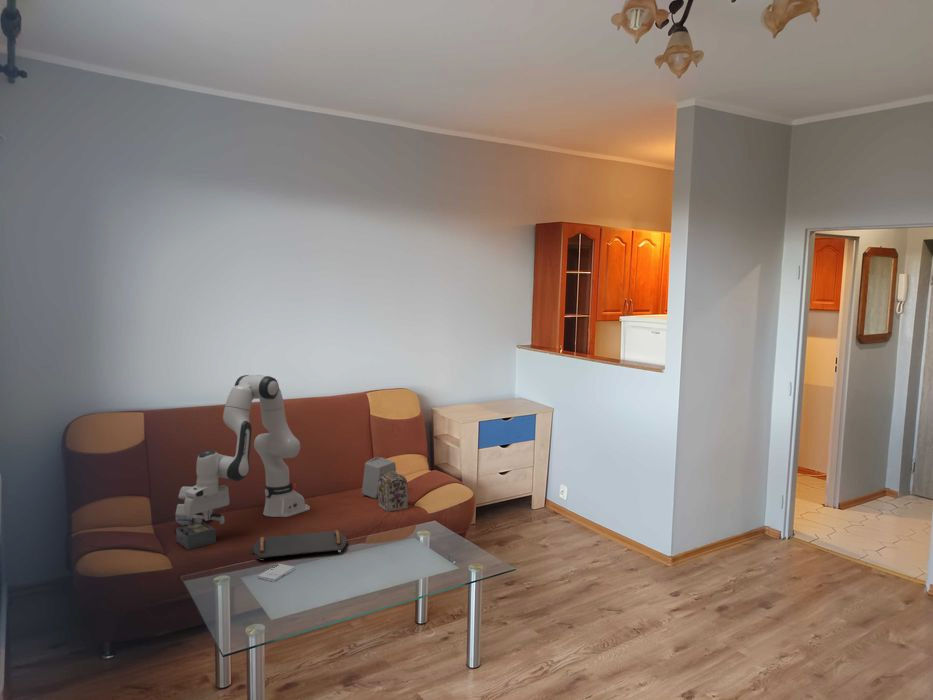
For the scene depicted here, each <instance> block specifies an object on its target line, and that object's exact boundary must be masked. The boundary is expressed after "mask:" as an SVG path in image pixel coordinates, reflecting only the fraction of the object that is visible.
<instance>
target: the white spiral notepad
mask: <svg viewBox="0 0 933 700" xmlns="http://www.w3.org/2000/svg"><path fill="white" fill-rule="evenodd" d="M277 564H278V565H279V566H277V567H275V568H272V567H270V568H271V569H273V570H271V569H270V568H268V569H269V570H268V569H267V570H266V571H265V570H264V572H262V573H259V574H258V575H257V576H259V577H263V578H266V579H271V580H276V579H277V578H279V577H280V576H282V575H284V574H285V573H287V572H288V571H290V570H292V569H294V568H295V569H296V566H294V565H293V566H292V565H289V564H282V563H277Z"/></svg>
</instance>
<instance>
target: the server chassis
mask: <svg viewBox="0 0 933 700" xmlns="http://www.w3.org/2000/svg"><path fill="white" fill-rule="evenodd" d="M216 530H217V529H216V528H214V526H211V525H209V524H208V523H207V522H206V521H202V522H201V523H197V524H195V519H191V520H189V525H188V526H183V525H182V526H178V527H176V528H175V531H176V532H175V533H176V534H175V535H176V542H177V544H179V545H181V546H182V547H183V546H184V547H183V548H185V549H186V550H187V551H189V550H193V549H197V548H201V547H205V546H204V545H206V546H210V545H213V543H214V544H216V543H217V533H216V532H217V531H216ZM209 544H210V545H209ZM200 546H201V547H200Z"/></svg>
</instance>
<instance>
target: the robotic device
mask: <svg viewBox="0 0 933 700" xmlns="http://www.w3.org/2000/svg"><path fill="white" fill-rule="evenodd" d="M192 487H193V486H186V485H185V486H182V487H180V489H179V493H178V499H179V500H183V501H184V502H185V498H186V497H187V496H186V494H185V492H186V491H187V490H188V489H190V488H192ZM201 513H202V512H201ZM174 520H175V522H176V523H178V524H180V525H181V526H182V527H183V526H188V525H189V519H187V514H186V513H185V512H184V503H177V505H176V510H175V519H174ZM201 522H203V519H197V518H195V524H197V523H201Z"/></svg>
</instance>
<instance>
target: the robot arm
mask: <svg viewBox="0 0 933 700" xmlns="http://www.w3.org/2000/svg"><path fill="white" fill-rule="evenodd" d="M257 399H259V408H260V415H261V423H262V424H261V425H262V426H263V427H264V428H265V429H266V431H268V432H265V433H260V434H258V435H256V437H255V439H254V441H253V447H254V450H255V451H256V452H257V453H258V455H259V456H260V458H261V461H262V463H263V466H264V471H265V487H264V496H265V503H264V509H263V513H262V515H264V516H265V517H271V518H279V517H280V518H288V517H291V516H295V515H298V514H300V513H304V512H307V511H310V510H311V507H310V505H308V504H307V503H306V501H305V498H304V495H302V494H300V493H299V492H298V491H296V490H294V489H297V484H296V483H291V482H290V469H289V466H288V464H287V463H285V461H284V459H290V458H295V457H296V456H298V455H299V453H300V451H301V442H300V440H299V439H298V438H297V437H296V436H295V435H294V434H293V433H292V431H291V429H290V427H289V424H288V422H287V418H286V410H285V405H284V399H283V395H282V391H281V388H280V385H279V382H278V380H277V379H276V378H275V377H272V376H269V375H263V374H262V375H261V374H254V375H253V374H252V375H250V374H245V375H241V376H239V377H238V378H237V379H236V381H235V383H234V386H233V387H231V390H230V391H229V395H228V396H227V399H226V402H225V406H224V409H223V413H222V420H223V422H224V424H225V425H226V426H227V427H228V428H229V429H230V430H231V431H233V432H234V433H235V435H236V438H237V440H236V448H235V455H234V456H229V455H224V454H220V453H218V452H217V450H213V449H210V450H204V451H202V452H200V453H199V454H198V456H197V459H196V472H195V473H196V477H197V478H196V484H195V485H193V486H191V487H192V488H190V489H188V490H187V491H186V492H185V494H186V496H187V497H186V498H185V501H184V502H183V504H184V512H185V513H186V514H187V515H193V514H197V513H201V512H202V513H203V515H204V516H205V519H204V522H208V521H211V520H210V516H211V514H213V511H214V510H215V509H220V508H223V507H228V506H229V505H230V493H229V487H228V486H227V485H226V484H222V485H219V478H222V479H229V480H231V481H235V482H241V481H242V480H244V479H245V478H246V477H247V476H248V474H249V471H250V453H251V451H250V450H251V444H252V443H251V441H252V432H253V431H252V429H253V428H252V424H251V423H250V414H251V409H252V404H253V403H252V402H253V400H257Z"/></svg>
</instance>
